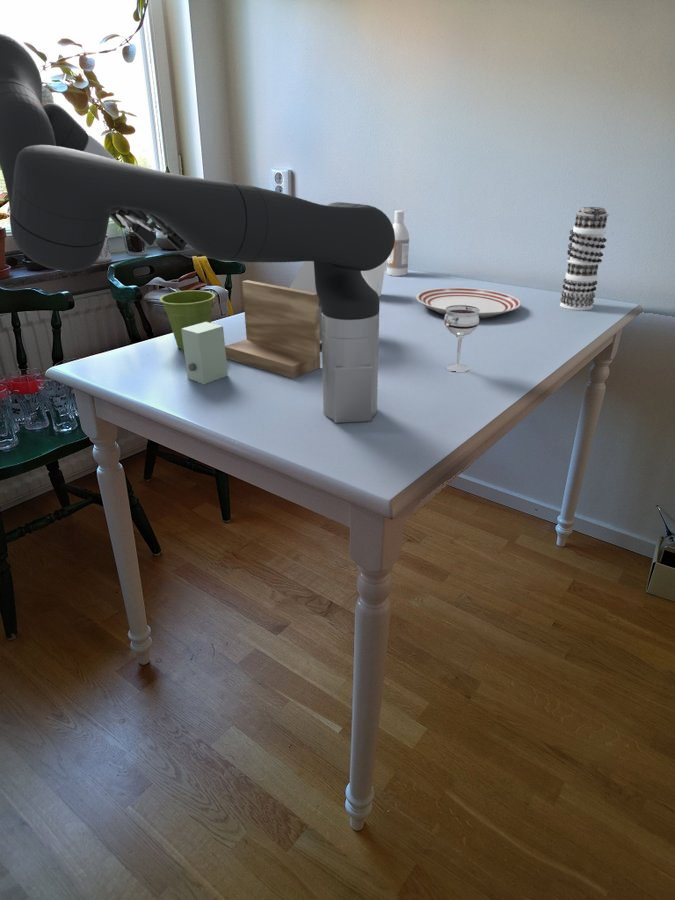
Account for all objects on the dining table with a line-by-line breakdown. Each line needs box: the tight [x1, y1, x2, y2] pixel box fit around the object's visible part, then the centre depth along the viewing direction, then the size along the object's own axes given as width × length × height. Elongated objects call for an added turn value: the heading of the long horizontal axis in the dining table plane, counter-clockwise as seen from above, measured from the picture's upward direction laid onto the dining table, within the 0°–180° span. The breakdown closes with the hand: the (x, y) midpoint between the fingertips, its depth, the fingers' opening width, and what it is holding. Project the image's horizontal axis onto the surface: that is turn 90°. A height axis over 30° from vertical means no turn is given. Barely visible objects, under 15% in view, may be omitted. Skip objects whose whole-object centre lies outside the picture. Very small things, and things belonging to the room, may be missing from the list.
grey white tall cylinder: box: [559, 206, 610, 311], centre depth 160 cm, size 9×9×25 cm
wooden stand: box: [225, 279, 321, 379], centre depth 124 cm, size 8×20×15 cm, turn 50°
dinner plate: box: [415, 286, 522, 319], centre depth 163 cm, size 27×27×3 cm
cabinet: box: [181, 322, 229, 385], centre depth 117 cm, size 7×5×10 cm
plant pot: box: [159, 289, 216, 351], centre depth 135 cm, size 12×12×11 cm
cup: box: [361, 260, 387, 298], centre depth 175 cm, size 9×9×12 cm
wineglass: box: [443, 305, 480, 373], centre depth 120 cm, size 7×7×12 cm
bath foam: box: [386, 210, 410, 277], centre depth 200 cm, size 7×7×20 cm
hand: (168, 243), depth 105 cm, fingers open, 8 cm apart
